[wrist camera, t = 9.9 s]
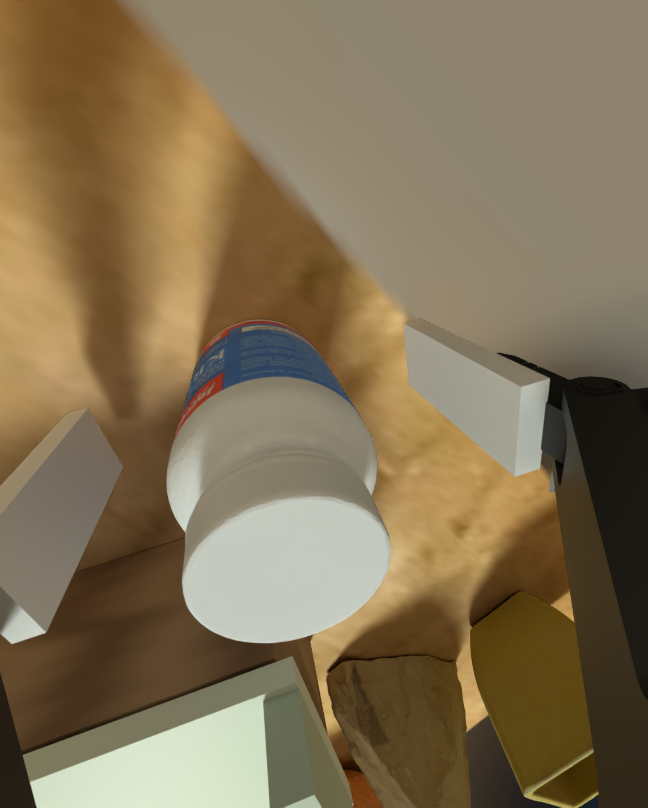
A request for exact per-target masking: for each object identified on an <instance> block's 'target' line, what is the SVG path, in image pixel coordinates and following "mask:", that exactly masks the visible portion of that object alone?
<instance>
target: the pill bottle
mask: <svg viewBox="0 0 648 808" xmlns="http://www.w3.org/2000/svg"><path fill="white" fill-rule="evenodd" d="M376 475H377V457H376V451H375V447H374V443H373V440H372V438H371V435H370V433H369V431H368V429H367V427H366V425H365V424H364V422H363V420H362V418H361V417H360V415H359V413H358V412H357V410H356V409H355V407H354V406H353V404H352V403H351V401H350V400H349V398H348V396H347V395H346V393H345V392H344V390H343V389H342V387H341V386H340V384H339V382H338V381H337V379H336V378H335V377H334V375H333V374H332V372H331V371H330V369H329V367H328V366H327V364H326V363H325V362H324V360H323V359H322V357H321V355H320V354H319V352H318V351H317V349H316V348H315V347H314V346H313V345H312V343H311V342H310V341H309V340H308V339H307V338H306V337H305V336H304V335H303V334H301V333H300V332H299V331H297V330H295V329H294V328H292V327H290V326H288V325H286V324H283V323H280V322H276V321H272V320H261V319H257V320H248V321H243V322H240V323H237V324H234V325H232V326H229V327H227V328H226V329H224V330H222V331H221V332H219V333H218V334H217V335H216V336H214V337H213V338H212V339H211V340H210V341H209V343H208V344H207V345H206V346H205V348H204V349H203V351H202V352H201V354H200V356H199V358H198V360H197V362H196V365H195V368H194V371H193V375H192V379H191V383H190V386H189V390H188V393H187V397H186V401H185V404H184V408H183V411H182V415H181V418H180V421H179V425H178V428H177V431H176V434H175V438H174V441H173V445H172V448H171V452H170V458H169V463H168V469H167V494H168V499H169V503H170V506H171V509H172V512H173V514H174V516H175V518H176V520H177V521H178V523H179V525H180V526H181V527H182V529H183V530H184V531H185V555H184V563H183V572H182V588H183V595H184V598H185V602H186V605H187V607H188V609H189V611H190V612H191V613H192V615H193V616H194V617H195V618H196V619H197V620H198V621H199V622H200V623H201V624H202V625H204V626H205V627H206V628H208V629H209V630H211V631H213V632H214V633H217V634H219V635H221V636H224V637H226V638H230V639H233V640H237V641H243V642H252V643H276V642H283V641H290V640H295V639H299V638H303V637H307V636H310V635H313V634H315V633H318V632H320V631H323V630H325V629H327V628H330V627H332V626H334V625H335V624H337V623H339V622H341V621H343V620H344V619H346V618H347V617H349V616H350V615H352V614H353V613H355V612H356V611H357V610H358V609H359V608H361V607H362V606H363V605H364V604H365V603H366V602H367V601H368V600H369V599H370V598H371V596H372V595H373V594H374V593H375V592H376V590H377V589H378V588H379V586H380V585H381V583H382V581H383V579H384V577H385V575H386V573H387V570H388V567H389V562H390V557H391V546H390V539H389V535H388V532H387V529H386V527H385V525H384V522H383V520H382V518H381V516H380V514H379V511H378V509H377V507H376V505H375V503H374V501H373V499H372V493H373V490H374V486H375V483H376Z"/></svg>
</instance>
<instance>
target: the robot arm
mask: <svg viewBox="0 0 648 808" xmlns="http://www.w3.org/2000/svg"><path fill="white" fill-rule="evenodd" d="M403 328H404V338H405V349H406V360H407V370H408V381H409V385H410V386H411V387H412V388H413V389H415V390H416V391H417V392H418V393H419V394H420V395H421V396H423V397H424V398H425V399H426V400H427V401H428V402H429V403H431V404H432V405H433V406H434V407H435V408H436V409H437V410H439V411H440V412H441V413H442V414H443V415H444V416H445V417H447V418H448V419H449V420H450V421H451V422H452V423H453V424H455V425H456V426H457V427H458V428H459V429H460V430H461V431H463V432H464V433H465V434H466V435H467V436H468V437H469V438H471V439H472V440H473V441H474V442H475V443H476V444H478V445H479V446H480V447H481V448H482V449H483V450H484V451H486V452H487V453H488V454H489V455H490V456H491V457H492V458H494V459H495V460H496V461H497V462H498V463H499V464H500V465H502V466H503V467H504V468H505V469H506V470H507V471H508V472H510V473H511V474H512V475H513V476H514V477H516V476H519V475H522V474H525V473H528V472H531V471H534V470H537V469H540V462H541V453H542V450H543V451H544V452H545V453H547V454H549V455H550V456H551V457H553V458H554V460H553V468H552V475H551V482H550V490H549V492H554V491H555V493H556V500H557V506H558V513H559V520H560V527H561V534H562V540H563V547H564V554H565V561H566V568H567V574H568V581H569V588H570V595H571V601H572V608H573V615H574V622H575V629H576V635H577V642H578V649H579V656H580V662H581V669H582V676H583V683H584V690H585V696H586V703H587V710H588V717H589V723H590V730H591V737H592V744H593V751H594V757H595V764H596V771H597V780H598V795H599V796H598V797H599V799H598V808H648V388H641V389H630V388H629V387H628V386H627V385H626V384H624V383H622V382H619V381H617V380H613V379H609V378H604V377H592V376H591V377H579V378H575V379H572V380H568V379H566V378H564V377H561V376H559V375H557V374H555V373H553V372H550V371H548V370H546V369H543V368H541V367H539V368H538V366H537V365H534V364H532V363H528V362H527V361H525V360H523V359H521V358H519V357H516V356H513V355H508V354H503V353H494V352H492V351H490V350H488V349H486V348H484V347H482V346H479V345H477V344H475V343H473V342H471V341H469V340H466V339H464V338H462V337H460V336H458V335H456V334H454V333H451V332H449V331H447V330H445V329H443V328H441V327H438V326H436V325H434V324H432V323H430V322H427V321H426V320H423V319H421V318H420V319H416V320H413V321H409V322H405V323H403ZM122 469H123V466H122V464H121V462H120V461H119V459H118V457H117V456H116V454H115V452H114V451H113V449H112V447H111V445H110V444H109V442H108V440H107V439H106V437H105V435H104V434H103V432H102V430H101V428H100V427H99V425H98V423H97V422H96V420H95V418H94V417H93V415H92V413H91V412H90V410H89V408H86V409H82V410H78V411H75V412H71V413H67V414H66V415H65V416H64V417H63V418H62V419H61V420H60V421H59V422H58V423H57V425H56V426H55V427H54V428H53V429H52V430H51V431H50V432H49V433H48V434H47V435H46V437H45V438H44V439H43V440H42V441H41V442H40V443H39V444H38V445H37V446H36V447H35V449H34V450H33V451H32V452H31V453H30V454H29V455H28V456H27V457H26V458H25V459H24V461H23V462H22V463H21V464H20V465H19V466H18V467H17V468H16V469H15V470H14V472H13V473H12V474H11V475H10V476H9V477H8V478H7V479H6V480H5V481H4V482H3V484H2V485H1V486H0V634H1V635H2V636H3V637H5V638H6V639H7V640H8V641H9V642H10V643H11V644H14V643H17V642H20V641H23V640H26V639H29V638H32V637H35V636H38V635H41V634H44V633H46V632H47V630H48V628H49V626H50V624H51V622H52V619H53V617H54V615H55V613H56V611H57V609H58V606H59V604H60V602H61V600H62V598H63V596H64V594H65V591H66V589H67V587H68V585H69V583H70V581H71V579H72V576H73V574H74V572H75V570H76V568H77V566H78V564H79V561H80V559H81V557H82V555H83V553H84V551H85V549H86V546H87V544H88V542H89V540H90V538H91V536H92V534H93V531H94V529H95V527H96V525H97V523H98V521H99V519H100V516H101V514H102V512H103V510H104V508H105V506H106V504H107V501H108V499H109V497H110V495H111V493H112V491H113V488H114V486H115V484H116V482H117V480H118V478H119V476H120V473H121V471H122ZM0 808H37V807H36V803H35V799H34V796H33V792H32V788H31V785H30V781H29V777H28V773H27V770H26V766H25V762H24V758H23V755H22V751H21V747H20V744H19V740H18V736H17V732H16V729H15V725H14V721H13V717H12V714H11V710H10V706H9V703H8V699H7V695H6V691H5V688H4V684H3V680H2V676H1V673H0Z"/></svg>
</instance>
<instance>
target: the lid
mask: <svg viewBox="0 0 648 808" xmlns="http://www.w3.org/2000/svg"><path fill="white" fill-rule="evenodd" d="M23 758H24V762H25V766H26V770H27V773H28V777H29V781H30V785H31V788H32V792H33V796H34V799H35V803H36V807H37V808H353V800H352V795H351V791H350V786H349V782H348V780H347V777H346V775H345V773H344V771H343V768H342V766H341V764H340V762H339V759H338V757H337V755H336V753H335V750H334V748H333V746H332V744H331V742H330V739H329V737H328V735H327V733H326V730H325V728H324V726H323V724H322V721H321V719H320V717H319V715H318V712H317V710H316V708H315V706H314V703H313V701H312V699H311V697H310V694H309V692H308V690H307V688H306V685H305V683H304V681H303V679H302V676H301V674H300V672H299V670H298V667H297V665H296V663H295V661H294V658H293V656H291V657H288V658H285V659H283V660H280V661H277V662H275V663H272V664H269V665H266V666H264V667H261V668H258V669H256V670H253V671H250V672H247V673H245V674H242V675H239V676H236V677H234V678H231V679H228V680H226V681H223V682H220V683H217V684H215V685H212V686H209V687H207V688H204V689H201V690H198V691H196V692H193V693H190V694H187V695H185V696H182V697H179V698H177V699H174V700H171V701H168V702H166V703H163V704H160V705H158V706H155V707H152V708H149V709H147V710H144V711H141V712H138V713H136V714H133V715H130V716H128V717H125V718H122V719H119V720H117V721H114V722H111V723H108V724H106V725H103V726H100V727H98V728H95V729H92V730H89V731H87V732H84V733H81V734H79V735H76V736H73V737H70V738H68V739H65V740H62V741H59V742H57V743H54V744H51V745H49V746H46V747H43V748H40V749H38V750H35V751H32V752H30V753H27V754H24V755H23Z"/></svg>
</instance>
